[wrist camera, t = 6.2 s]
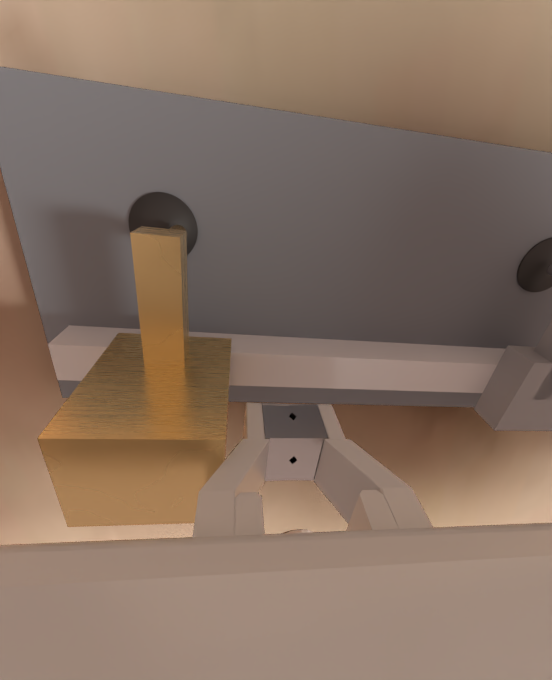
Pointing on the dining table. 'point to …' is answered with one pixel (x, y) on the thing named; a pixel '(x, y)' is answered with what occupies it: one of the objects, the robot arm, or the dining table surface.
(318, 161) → the plate
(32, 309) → the dining table surface
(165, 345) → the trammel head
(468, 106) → the dining table surface
